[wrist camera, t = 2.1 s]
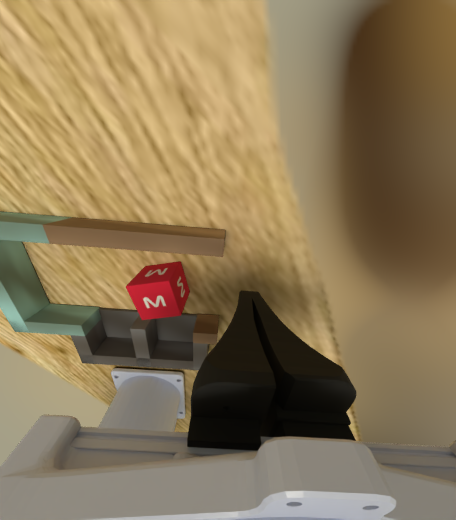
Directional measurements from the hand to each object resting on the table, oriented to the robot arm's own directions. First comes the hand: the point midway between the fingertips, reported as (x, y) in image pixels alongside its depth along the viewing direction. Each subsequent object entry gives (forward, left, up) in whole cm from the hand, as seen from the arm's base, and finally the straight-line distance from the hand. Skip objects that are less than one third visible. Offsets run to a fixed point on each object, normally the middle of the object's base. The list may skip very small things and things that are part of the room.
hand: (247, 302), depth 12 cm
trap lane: (-2, +10, -2) cm, 11 cm away
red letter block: (0, +7, -3) cm, 7 cm away
